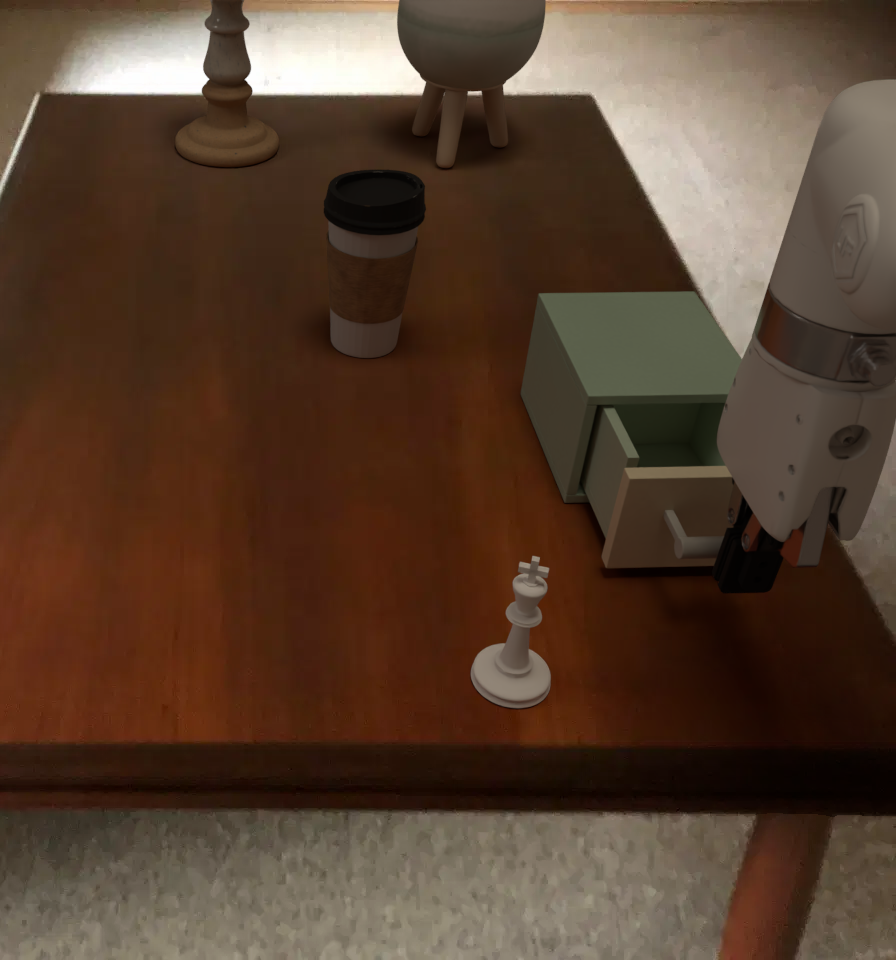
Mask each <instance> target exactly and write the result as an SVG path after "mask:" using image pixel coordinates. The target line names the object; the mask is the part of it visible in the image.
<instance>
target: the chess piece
mask: <svg viewBox="0 0 896 960" xmlns="http://www.w3.org/2000/svg"><path fill="white" fill-rule="evenodd" d="M540 558H541V557H540V556H536V555H532V556H531V561H530V563H528V562H524V561H519V563H518V569H517V573H520V574H518V575H516V576H515V577H514V578H513V580H512V591H513V594H514V599H515V601H512V602H510V604H509V605H508V606H507V607H506V609H505V617H506V618H507V620H508V621H509V622H510V623H511V624H512V625H511V629H510V630H509V633H508V636H507V638H506V641H505V642H502V643H495V644H492V645H489V646H486V647H485V648H483V649H482V650H481V651H479V652H478V653H477V655H475V658H474V659H473V663H472V665H471V668H470V679H471V682H472V685H473V687H474V688H475V690H476V691H477V692H478V693H479V694H480V695H481V696H482V697H483V698H484V699H486V700H487V701H489V702H491V703H492V704H495V705H498V706H500V707H503V708H510V709H527V708H530V707H533V706H536V705H539V704H540V703H541V702H542V701H544V700H545V699H546V698H547V696H548V694H549V693H550V690H551V685H552V684H551V683H552V681H551V680H552V675H551V670H550V668H549V666H548V663H547V662H546V661H545V660H544V659H543V657H541V656H540V655H539V654H538V653H537V652H535V651H534V650H533V649H530V635H531V634H530V632H531V628H532V629H533V628H535V627H537V626H539V625H540V624H541V622H542V620H543V615H542V614H543V613H542V610H541V609H540V608H539V606H538V605H539V604H540V602H541V601H542V600H543V598H544V597H545V596H546V595H547V592H548V589H549V588H548V584H547V582H546V580H545V579H548V578H549V577H548V576H549V573H550V572H549V571H550V567H547V566H542V565H539V564H540V560H541V559H540Z"/></svg>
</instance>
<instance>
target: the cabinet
mask: <svg viewBox="0 0 896 960" xmlns="http://www.w3.org/2000/svg"><path fill="white" fill-rule="evenodd" d="M533 316H534V317H533V322H532V328H531V333H530V339H529V344H528V350H527V355H526V361H525V365H524V366H525V367H524V370H523V371H524V372H523V377H522V384H521V389H520V397H521V399H522V401H523V404H524V407H525V409H526V411H527V414H528V417H529V419H530V421H531V424H532V426H533V428H534V431H535V434H536V437H537V439H538V441H539V444H540V446H541V448H542V451H543V454H544V456H545V459H546V461H547V463H548V466H549V468H550V471H551V473H552V476H553V479H554V480H555V483H556V484H557V488H558V490H559V493H560V496H561V498H562V500H563V502H564V504H580V503H581V504H582V503H583V504H588V503H589V504H590V501H589V499H588V497H587V494H586V492H585V490H584V487H583V485H582V483H581V480H580V477H581V472H582V468H583V464H584V460H585V455H586V451H587V447H588V442H589V438H590V434H591V429H592V425H593V421H594V416H595V412H596V408H597V405H616V404H677V403H726V400H727V397H728V394H729V391H730V388H731V386H732V383H733V381H734V378H735V375H736V373H737V370H738V368H739V365H740V363H741V360H742V358H743V357H741V356H740V354H739V352H738V351H737V350H736V348H735V347H734V345H733V344H732V343H731V340H729V339H728V337H727V335H726V334H725V333H724V331H723V330H722V329H721V327H720V326H719V324H718V323H717V322H716V320H715V318H714V317H713V316H712V314H711V313H710V311H709V310H708V308H707V307H706V306H705V304H704V303H703V301H702V299H701V298H700V297H699V295H698V294H697V293H696V291H633V292H632V291H625V292H624V291H622V292H620V291H618V292H616V291H615V292H611V291H609V292H539V293H538V294H537V300H536V306H535V312H534V315H533Z"/></svg>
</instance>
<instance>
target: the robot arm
mask: <svg viewBox="0 0 896 960" xmlns="http://www.w3.org/2000/svg"><path fill="white" fill-rule="evenodd" d="M771 271H772V272H771V275H770V278H769V282H768V284H767V288H766V291H765V294H764V296H763V300H762V303H761V305H760V309H759V312H758V315H757V319H756V322H755V325H754V328H753V330H752V333H751V339H750V341H749V343H748V345H747V347H746V349H745V351H744V353H743V356H742V357H741V358H742V360H741V363H740V365H739V368H738V370H737V373H736V375H735V378H734V381H733V383H732V386H731V388H730V391H729V394H728V397H727V400H726V403H725V406H724V409H723V412H722V416H721V419H720V423H719V428H718V432H717V446H718V450H719V453H720V455H721V457H722V459H723V461H724V463H725V465H726V467H727V469H728V470H729V472H730V474H731V476H732V477H733V478H732V484H733V489H732V493H731V497H730V501H729V506H728V510H727V520H728V523H729V524H730V525H731V526H733V528H727V529H726V532H725V535H724V538H723V541H722V544H721V546H720V549H719V552H718V555H717V558H716V561H715V564H714V566H712V571H711V575H712V577H713V579H714V581H715V582H717V587H718V589H719V591H720V593H722V594H727V595H728V594H759V593H760V594H762V593H763V594H764V593H768V592H769V591H771V590H772V588H773V587H774V584H775V581H776V578H777V576H778V574H779V572H780V568H781V566H782V563H783V561H784V560H785V561H786V563H788V564H789V565H790V567H792V568H793V569H805V568H817V567H818V566H819V563H820V560H821V555H822V551H823V546H824V541H825V537H826V533H827V529H828V525H829V527H830V528H831V530H832V531H833V533H834V534H835V536H836V537H837V539H838V540H839V541H847V542H849V541H852V540H854V539H855V537H856V536H857V534H858V533H859V531H860V530H861V528H862V525H863V523H864V521H865V519H866V516H867V513H868V511H869V508H870V506H871V504H872V500H873V498H874V495H875V493H876V491H877V486H878V484H879V481H880V478H881V476H882V472H883V470H884V467H885V466H884V465H885V463H886V459H887V456H888V453H889V450H890V445H891V443H892V438H893V434H894V432H895V431H894V430H895V425H896V79H874V80H867V81H862V82H858V83H856V84H853V85H851V86H849V87H847V88H845V89H843V90H842V91H841V92H839V93H838V94H837V95H836V96H835V97H834V98H833V99H832V101H831V102H830V103H829V104H828V105H827V107H826V109H825V110H824V112H823V115H822V117H821V120H820V122H819V126H818V128H817V131H816V133H815V137H814V140H813V143H812V146H811V150H810V153H809V156H808V158H807V162H806V166H805V168H804V171H803V175H802V178H801V182H800V185H799V188H798V190H797V193H796V196H795V200H794V202H793V205H792V209H791V213H790V216H789V218H788V222H787V225H786V228H785V231H784V234H783V237H782V241H781V244H780V248H779V249H778V253H777V256H776V259H775V262H774V265H773V268H772V270H771Z"/></svg>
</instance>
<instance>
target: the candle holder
mask: <svg viewBox="0 0 896 960" xmlns="http://www.w3.org/2000/svg"><path fill="white" fill-rule="evenodd" d="M209 1H210V5H211V11H210V14H209V16H207V18H205V20H204V27H205V28H206V29H207V30H208V31H209V39H208V45H207V49H206V54H205V56H204V61H203V63H202V69H203V70H202V71H203V74H204V76H206V78H207V79H208V80H207V81H206V82H205V84H203V86H202V87H201V95H202V96H203V97H204V98H205V100H206V101H207V110H206V114H205V115H202V116H199V117H197V118H196V119H194V120H193V121H191V122H190V123H188V124H186V125H184V126H182V127H181V128H180V129H179V130H178V132H177V133H176V135H175V139H174V145H175V148H176V151H177V152H178V153H179V155H180V156H181V157H183V158H184V159H186V160H188V161H191V162H192V163H196V164H200V165H204V166H209V167H216V168H240V167H247V166H252V165H256V164H259V163H263V162H265V161H267V160H269V159H271V158H272V157H274V156H275V155H276V153H277V152H278V150H279V147H280V138H279V135H278V134H277V132H276V131H275V130H274V129H273V128H272V127H271V126H269V125H268V124H266V123H263V121H261V120H260V119H259V118H256V117H254V116H251V115H248V108H247V101H249V99H250V98H251V97H252V95H253V87H252V86H251V84H249V82H248V81H247V80H246V79H247V78H248V77H249V76H250V74H251V71H252V63H251V59H250V56H249V53H248V49H247V45H246V39H245V31H247V30H248V29H249V27H250V21H249V19H248V18H247V17H246V16H245V15H244V12H243V5H244V3H245V0H209Z"/></svg>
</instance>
